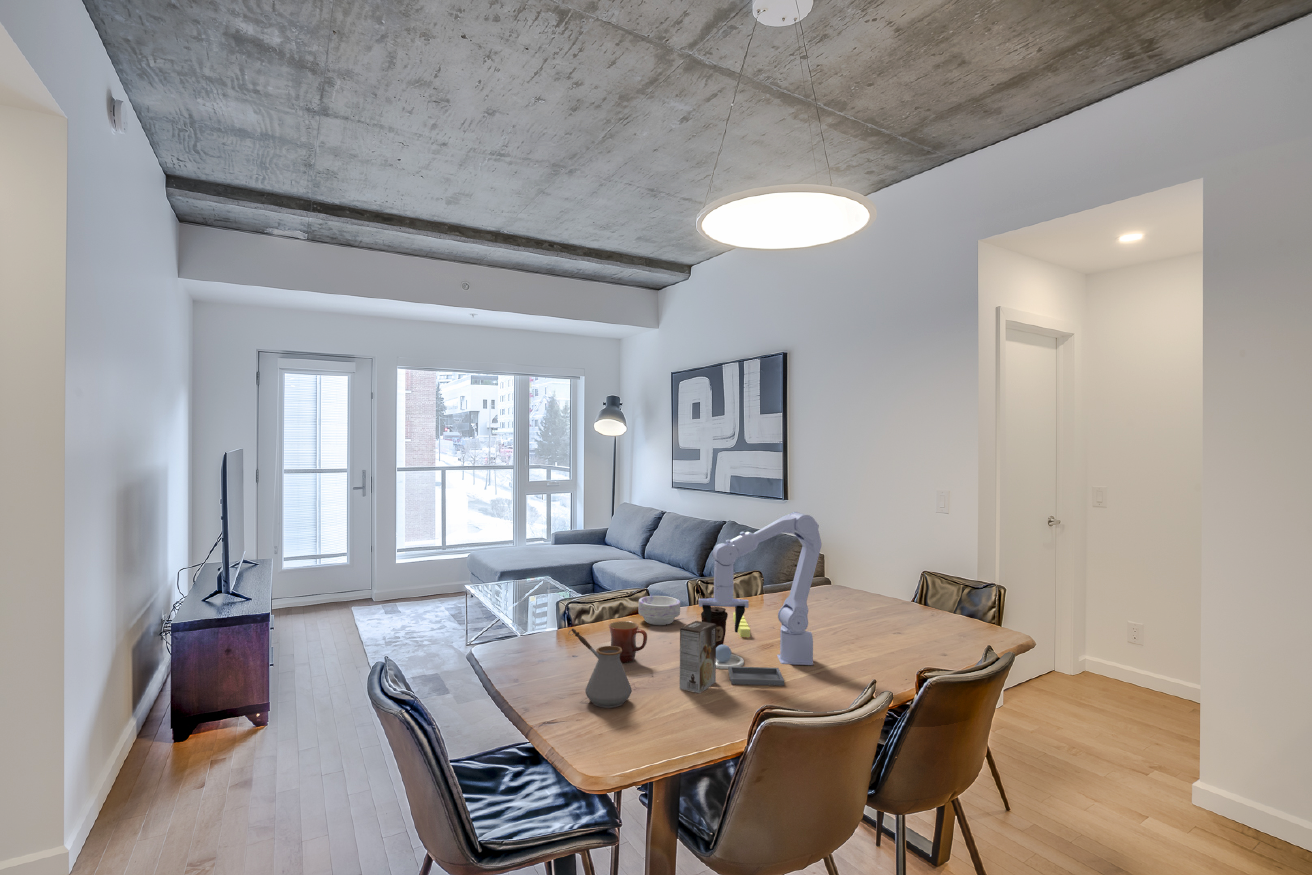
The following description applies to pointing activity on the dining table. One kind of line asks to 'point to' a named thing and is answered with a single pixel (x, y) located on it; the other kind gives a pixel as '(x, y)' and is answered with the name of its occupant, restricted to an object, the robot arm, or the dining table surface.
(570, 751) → the dining table surface
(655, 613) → the paper bowls
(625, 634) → the mug
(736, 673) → the tray
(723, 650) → the ball
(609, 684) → the coffee pot
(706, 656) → the coffee box
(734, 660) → the saucer
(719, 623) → the coffee cup
